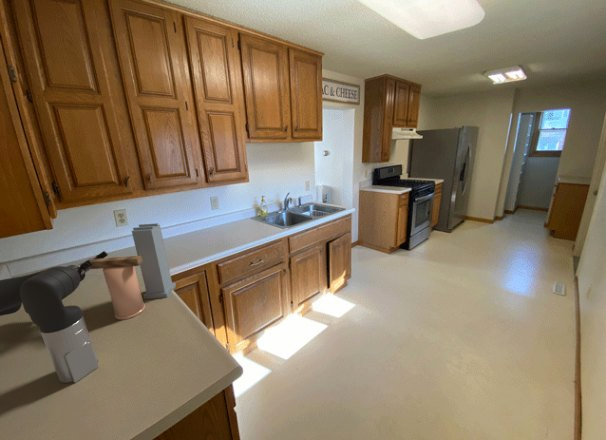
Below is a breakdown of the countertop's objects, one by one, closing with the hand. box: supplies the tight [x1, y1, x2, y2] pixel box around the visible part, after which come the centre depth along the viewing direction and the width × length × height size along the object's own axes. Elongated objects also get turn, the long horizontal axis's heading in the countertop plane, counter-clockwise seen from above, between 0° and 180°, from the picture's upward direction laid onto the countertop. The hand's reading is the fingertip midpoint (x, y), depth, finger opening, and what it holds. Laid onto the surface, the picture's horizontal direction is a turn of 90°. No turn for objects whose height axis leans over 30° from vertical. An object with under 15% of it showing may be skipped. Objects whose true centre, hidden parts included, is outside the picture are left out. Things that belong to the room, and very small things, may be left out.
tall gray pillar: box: [131, 223, 177, 300], centre depth 116 cm, size 10×10×33 cm
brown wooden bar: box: [82, 255, 143, 270], centre depth 100 cm, size 20×3×3 cm, turn 94°
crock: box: [102, 266, 146, 321], centre depth 103 cm, size 11×11×21 cm
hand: (98, 257), depth 99 cm, fingers open, 8 cm apart
